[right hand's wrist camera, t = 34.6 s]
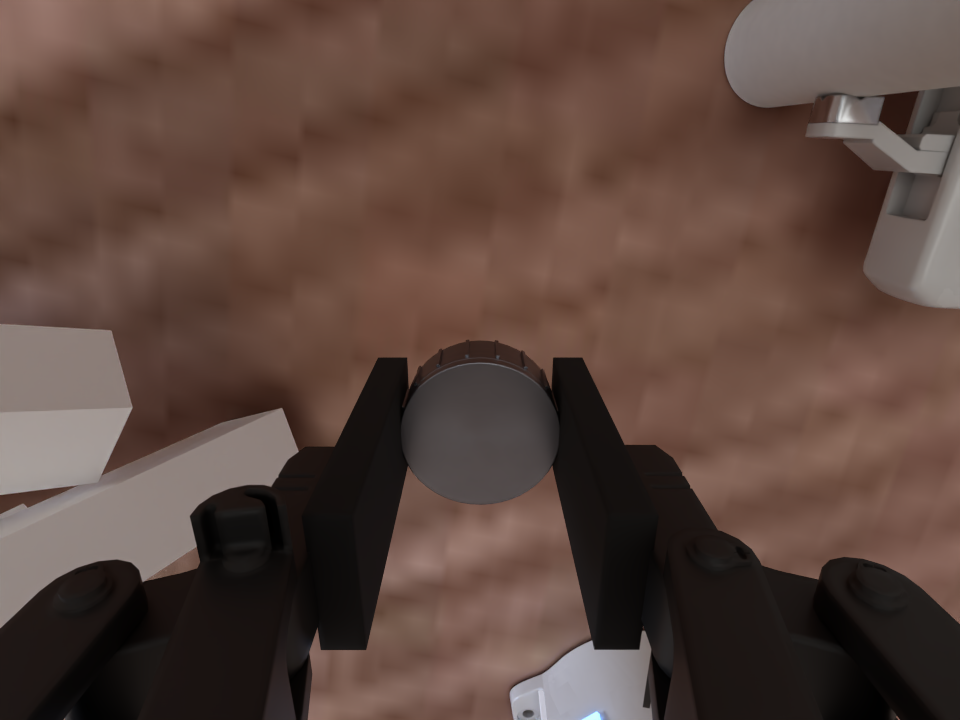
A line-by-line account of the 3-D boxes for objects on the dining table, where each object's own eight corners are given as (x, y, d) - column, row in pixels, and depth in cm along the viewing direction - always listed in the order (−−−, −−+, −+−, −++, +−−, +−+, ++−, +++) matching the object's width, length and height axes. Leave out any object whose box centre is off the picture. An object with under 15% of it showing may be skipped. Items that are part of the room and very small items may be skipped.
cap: (567, 347, 14) (577, 370, 12) (542, 479, 15) (548, 514, 14) (411, 329, 14) (403, 351, 12) (401, 465, 15) (393, 498, 14)
